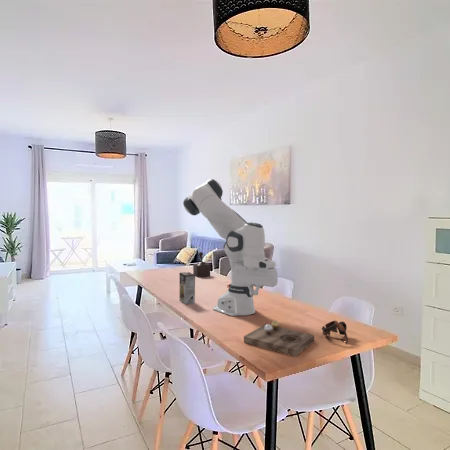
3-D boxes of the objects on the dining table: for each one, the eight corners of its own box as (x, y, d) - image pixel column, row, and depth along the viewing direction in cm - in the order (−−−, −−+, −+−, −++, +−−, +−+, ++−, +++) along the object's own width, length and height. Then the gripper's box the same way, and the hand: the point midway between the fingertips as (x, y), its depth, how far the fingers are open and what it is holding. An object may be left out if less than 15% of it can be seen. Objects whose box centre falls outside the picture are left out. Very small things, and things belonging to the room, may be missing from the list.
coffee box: (178, 300, 196) (179, 272, 195) (189, 299, 198) (189, 271, 198) (184, 304, 187) (184, 275, 187) (195, 303, 190) (195, 274, 190)
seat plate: (243, 342, 134) (243, 336, 134) (265, 329, 149) (265, 324, 149) (295, 356, 121) (295, 349, 121) (314, 341, 136) (314, 335, 136)
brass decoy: (269, 329, 142) (269, 320, 142) (273, 326, 145) (273, 318, 145) (276, 330, 140) (277, 322, 140) (280, 328, 143) (280, 320, 143)
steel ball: (262, 333, 137) (262, 324, 137) (266, 330, 140) (266, 322, 140) (270, 335, 135) (270, 326, 135) (274, 332, 138) (274, 324, 138)
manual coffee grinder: (211, 276, 268) (211, 253, 267) (199, 277, 262) (199, 254, 261) (201, 273, 281) (201, 251, 280) (189, 274, 275) (189, 252, 274)
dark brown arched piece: (343, 346, 132) (332, 327, 133) (325, 350, 139) (315, 331, 140) (357, 331, 140) (346, 313, 141) (339, 335, 147) (329, 318, 148)
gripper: (229, 260, 144) (229, 292, 145) (272, 264, 132) (272, 299, 133) (237, 259, 149) (237, 290, 150) (279, 262, 137) (279, 296, 138)
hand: (254, 294), depth 141 cm, fingers closed
